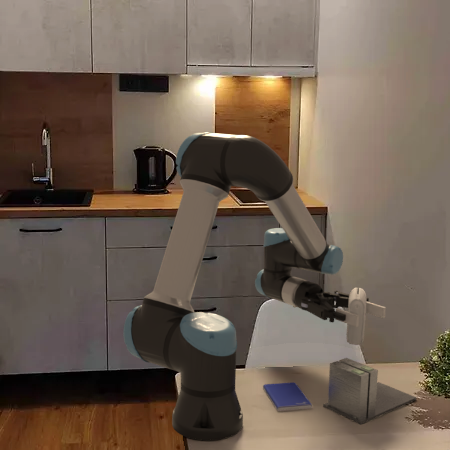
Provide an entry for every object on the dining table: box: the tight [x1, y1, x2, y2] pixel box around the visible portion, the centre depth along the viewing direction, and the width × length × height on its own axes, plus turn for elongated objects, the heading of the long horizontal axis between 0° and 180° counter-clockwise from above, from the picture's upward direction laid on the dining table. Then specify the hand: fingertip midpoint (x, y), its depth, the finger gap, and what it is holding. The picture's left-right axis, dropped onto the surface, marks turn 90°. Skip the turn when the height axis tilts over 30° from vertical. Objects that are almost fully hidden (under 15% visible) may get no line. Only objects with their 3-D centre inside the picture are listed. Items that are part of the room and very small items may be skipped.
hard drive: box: [262, 382, 313, 412], centre depth 168 cm, size 2×8×12 cm
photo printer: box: [345, 287, 368, 346], centre depth 175 cm, size 10×4×12 cm, turn 168°
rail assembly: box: [322, 357, 417, 425], centre depth 164 cm, size 20×11×11 cm, turn 130°
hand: (371, 316), depth 172 cm, fingers closed on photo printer, 9 cm apart
